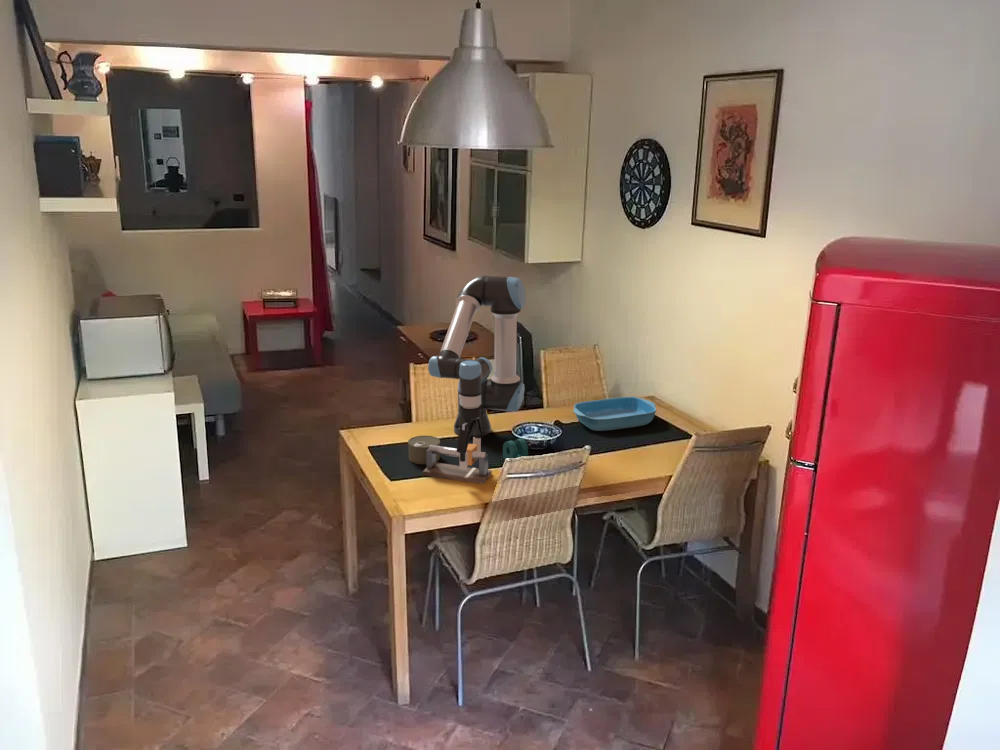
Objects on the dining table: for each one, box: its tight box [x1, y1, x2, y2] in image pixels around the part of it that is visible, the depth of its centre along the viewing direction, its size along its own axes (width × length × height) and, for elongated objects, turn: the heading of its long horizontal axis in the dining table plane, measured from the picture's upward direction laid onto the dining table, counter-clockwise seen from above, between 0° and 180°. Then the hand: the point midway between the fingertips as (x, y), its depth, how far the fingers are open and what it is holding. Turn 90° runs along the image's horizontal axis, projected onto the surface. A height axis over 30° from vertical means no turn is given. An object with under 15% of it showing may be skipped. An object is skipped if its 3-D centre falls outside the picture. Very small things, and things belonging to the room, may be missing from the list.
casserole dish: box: [572, 396, 657, 432], centre depth 351 cm, size 37×22×7 cm, turn 110°
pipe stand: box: [422, 445, 493, 485], centre depth 296 cm, size 9×23×10 cm, turn 72°
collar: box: [466, 443, 477, 467], centre depth 293 cm, size 6×3×6 cm, turn 162°
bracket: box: [502, 437, 529, 460], centre depth 306 cm, size 18×7×8 cm, turn 33°
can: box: [407, 435, 441, 465], centre depth 311 cm, size 12×12×7 cm
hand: (470, 461), depth 294 cm, fingers open, 13 cm apart
